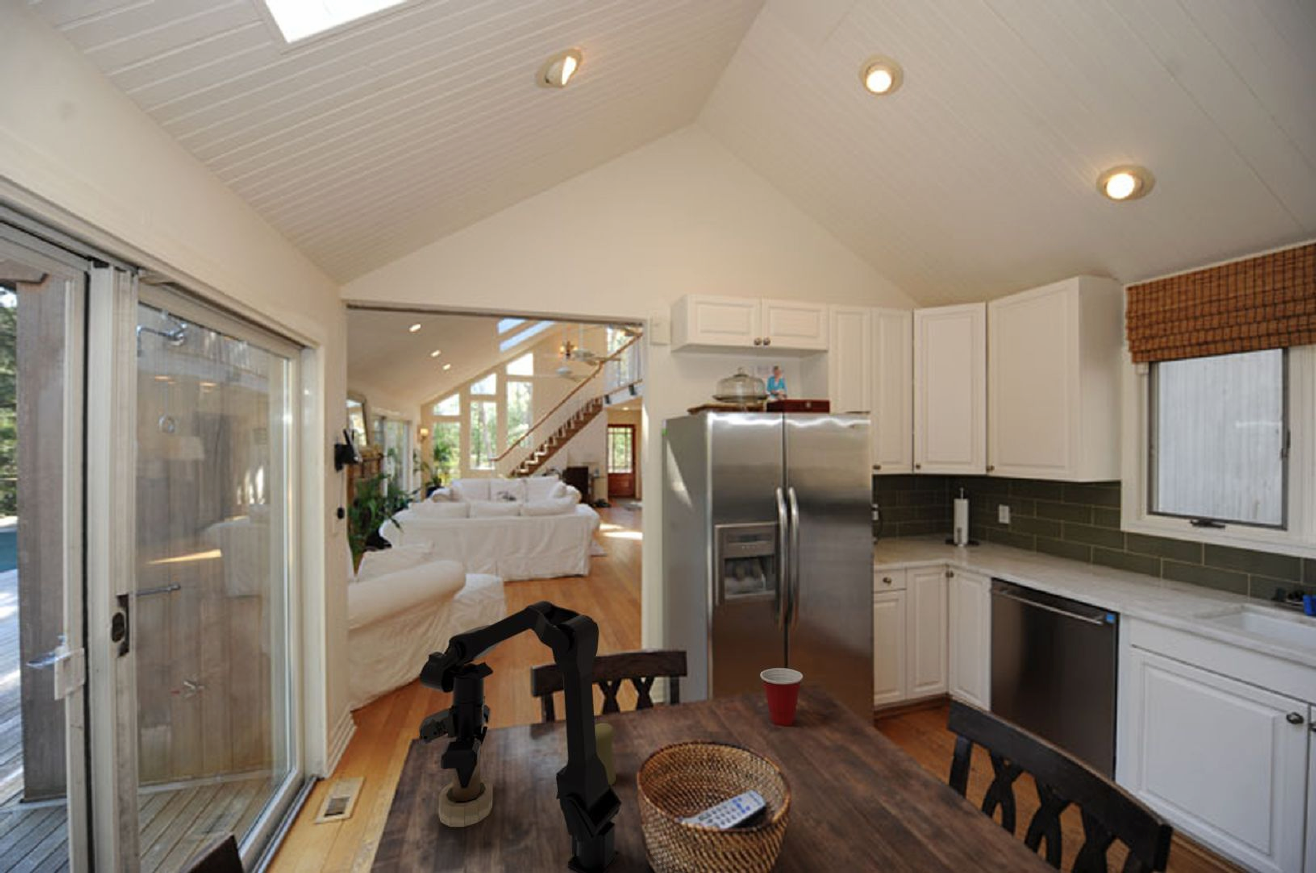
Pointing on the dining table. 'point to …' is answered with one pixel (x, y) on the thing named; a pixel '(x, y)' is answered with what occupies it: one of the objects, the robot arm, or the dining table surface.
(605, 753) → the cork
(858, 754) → the dining table surface
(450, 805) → the wooden ring
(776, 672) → the plastic cup
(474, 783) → the walnut peg
